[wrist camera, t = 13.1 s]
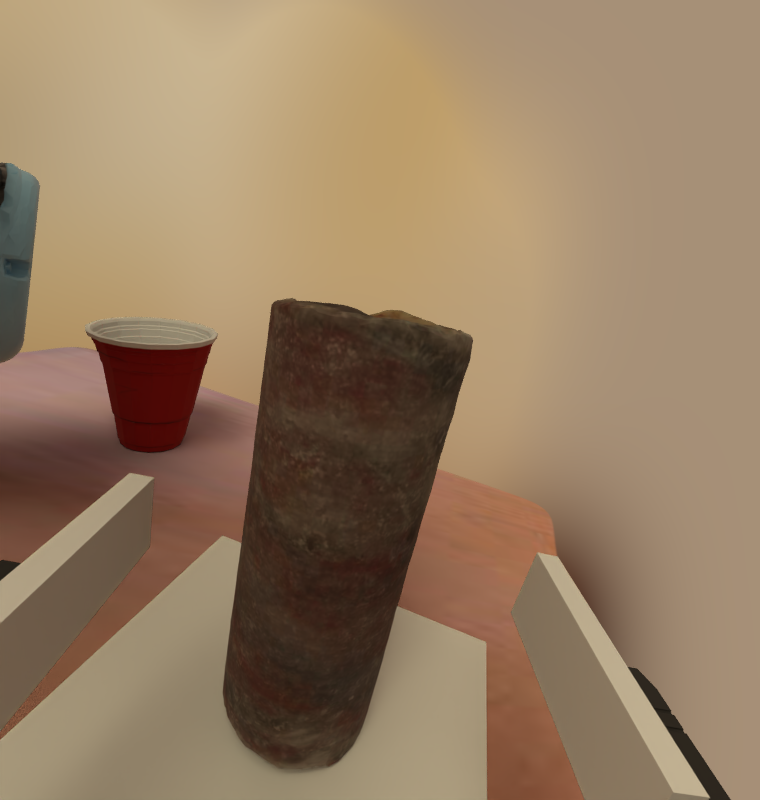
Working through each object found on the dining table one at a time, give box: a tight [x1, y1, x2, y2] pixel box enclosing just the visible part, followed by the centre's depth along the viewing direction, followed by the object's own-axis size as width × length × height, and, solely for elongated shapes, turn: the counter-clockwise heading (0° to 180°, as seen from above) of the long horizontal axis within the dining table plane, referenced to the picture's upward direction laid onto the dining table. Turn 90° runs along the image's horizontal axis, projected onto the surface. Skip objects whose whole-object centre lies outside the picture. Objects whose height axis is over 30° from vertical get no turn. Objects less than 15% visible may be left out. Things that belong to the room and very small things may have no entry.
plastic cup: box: [85, 317, 218, 452], centre depth 39 cm, size 11×11×12 cm
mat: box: [0, 535, 487, 800], centre depth 20 cm, size 20×16×1 cm
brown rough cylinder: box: [223, 298, 473, 769], centre depth 17 cm, size 8×7×20 cm
